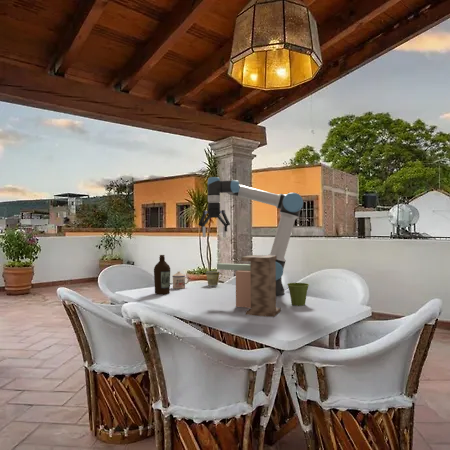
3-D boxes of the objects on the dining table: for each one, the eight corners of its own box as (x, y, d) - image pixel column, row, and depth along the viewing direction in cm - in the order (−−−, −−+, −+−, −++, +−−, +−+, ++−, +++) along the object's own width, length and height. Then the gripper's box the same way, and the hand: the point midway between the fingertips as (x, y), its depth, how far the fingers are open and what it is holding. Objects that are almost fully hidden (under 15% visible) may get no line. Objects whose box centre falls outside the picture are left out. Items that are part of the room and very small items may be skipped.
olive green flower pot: (203, 286, 276) (203, 272, 277) (210, 284, 285) (210, 270, 285) (219, 287, 270) (218, 273, 270) (225, 285, 279) (225, 271, 279)
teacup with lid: (174, 289, 262) (174, 272, 262) (170, 287, 270) (170, 271, 270) (191, 288, 267) (191, 271, 267) (186, 286, 276) (186, 270, 276)
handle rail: (216, 269, 212) (216, 262, 212) (220, 268, 218) (220, 261, 218) (260, 271, 202) (260, 263, 202) (264, 270, 208) (264, 262, 208)
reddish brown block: (235, 306, 203) (235, 271, 204) (244, 301, 216) (244, 268, 217) (261, 308, 198) (260, 272, 198) (268, 303, 211) (268, 269, 211)
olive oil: (150, 293, 246) (150, 255, 246) (164, 291, 253) (164, 254, 253) (160, 295, 238) (159, 255, 238) (173, 293, 245) (173, 254, 245)
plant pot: (283, 303, 210) (283, 283, 210) (301, 302, 215) (300, 282, 215) (295, 307, 199) (295, 286, 200) (313, 305, 204) (313, 284, 204)
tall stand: (241, 314, 185) (241, 257, 185) (250, 308, 198) (250, 255, 198) (273, 317, 179) (273, 257, 179) (280, 310, 192) (280, 255, 192)
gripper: (192, 202, 235) (193, 237, 235) (230, 201, 225) (230, 237, 225) (198, 203, 242) (198, 236, 242) (235, 202, 232) (235, 236, 232)
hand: (214, 237), depth 233 cm, fingers open, 13 cm apart
